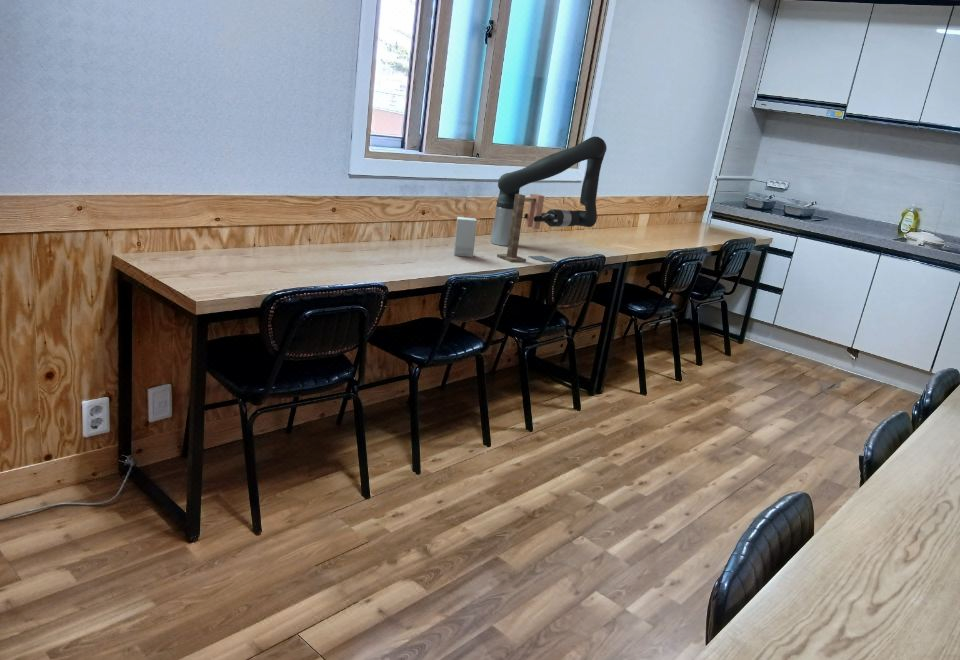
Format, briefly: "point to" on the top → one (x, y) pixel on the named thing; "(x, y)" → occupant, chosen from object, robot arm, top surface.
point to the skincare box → (465, 236)
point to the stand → (515, 229)
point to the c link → (534, 211)
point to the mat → (542, 258)
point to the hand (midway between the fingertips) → (529, 217)
